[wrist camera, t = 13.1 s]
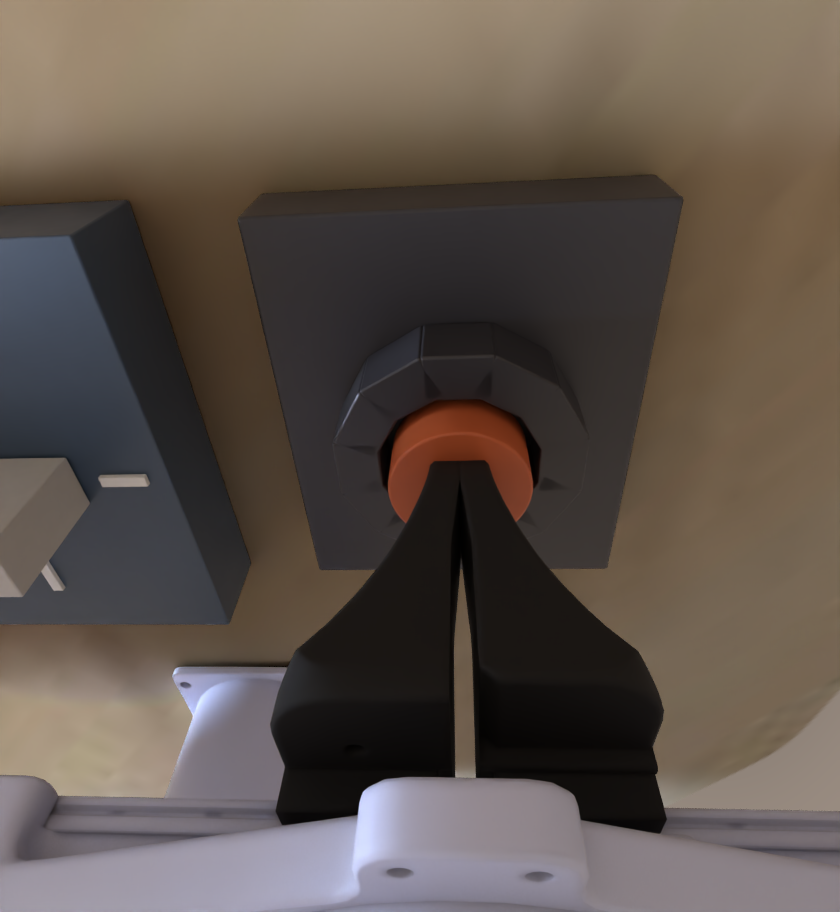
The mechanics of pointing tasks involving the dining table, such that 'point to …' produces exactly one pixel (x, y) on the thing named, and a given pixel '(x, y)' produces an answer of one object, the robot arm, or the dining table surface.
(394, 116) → the dining table surface
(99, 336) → the dial panel
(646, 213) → the button base
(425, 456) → the button
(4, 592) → the grey rectangular block
